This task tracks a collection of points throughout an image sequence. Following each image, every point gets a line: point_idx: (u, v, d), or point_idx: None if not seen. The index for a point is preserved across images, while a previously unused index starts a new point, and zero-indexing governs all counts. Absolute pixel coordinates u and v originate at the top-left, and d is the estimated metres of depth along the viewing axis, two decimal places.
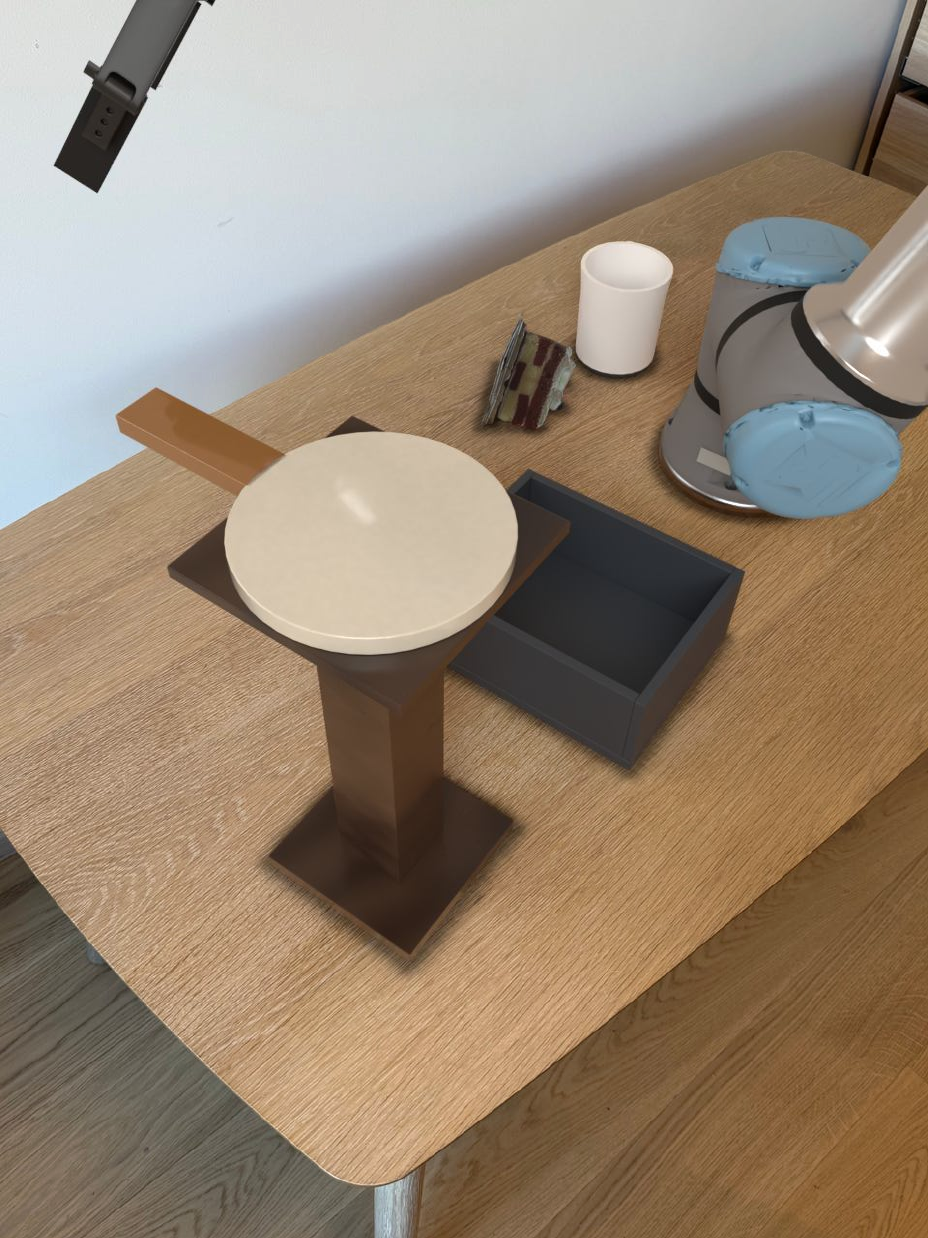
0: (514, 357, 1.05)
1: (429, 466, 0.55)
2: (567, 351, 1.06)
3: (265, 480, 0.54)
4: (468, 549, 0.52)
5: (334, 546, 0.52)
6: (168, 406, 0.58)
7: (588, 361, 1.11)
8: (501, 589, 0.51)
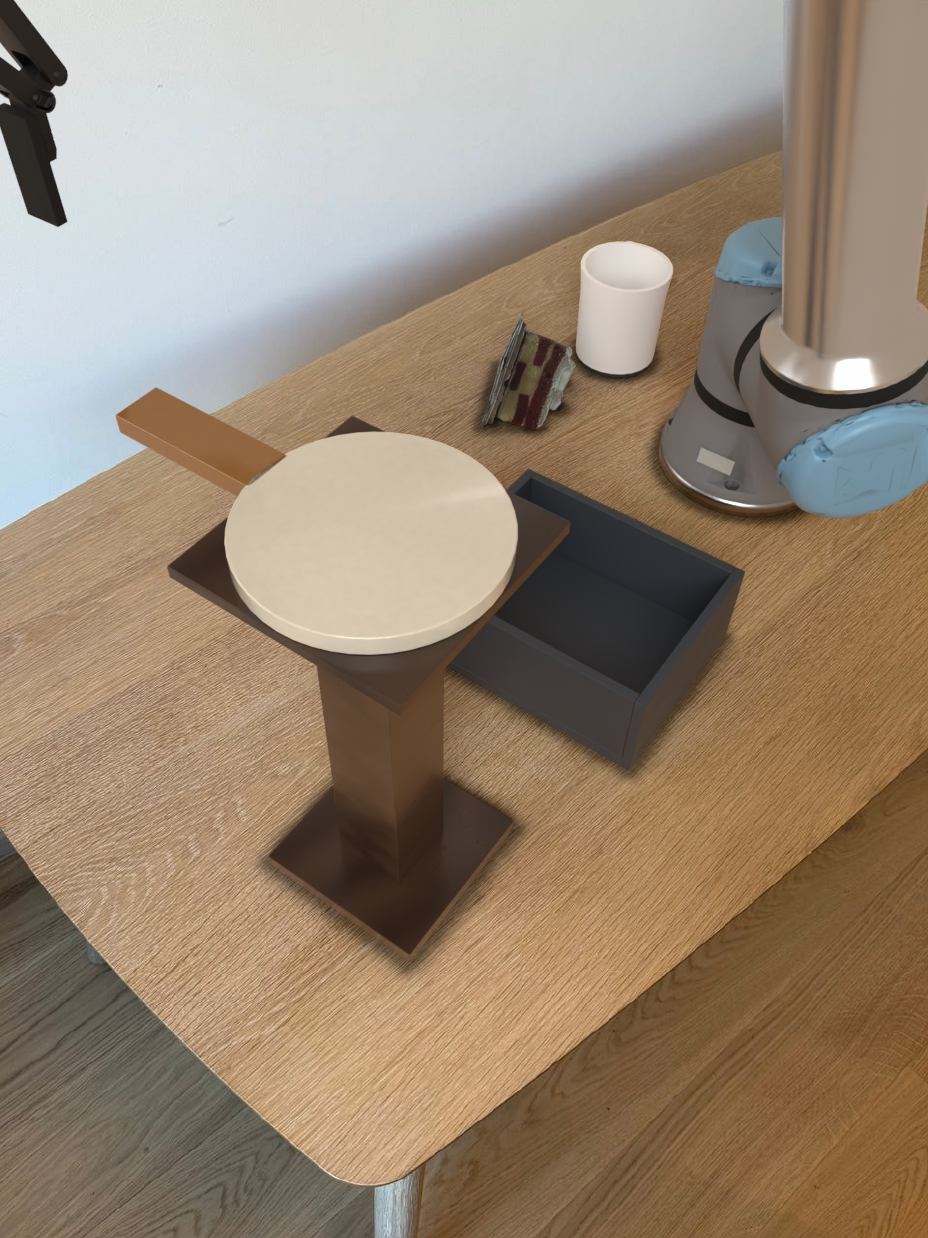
0: (514, 357, 1.05)
1: (429, 466, 0.55)
2: (567, 351, 1.06)
3: (265, 480, 0.54)
4: (468, 549, 0.52)
5: (334, 546, 0.52)
6: (168, 406, 0.58)
7: (588, 361, 1.11)
8: (501, 589, 0.51)
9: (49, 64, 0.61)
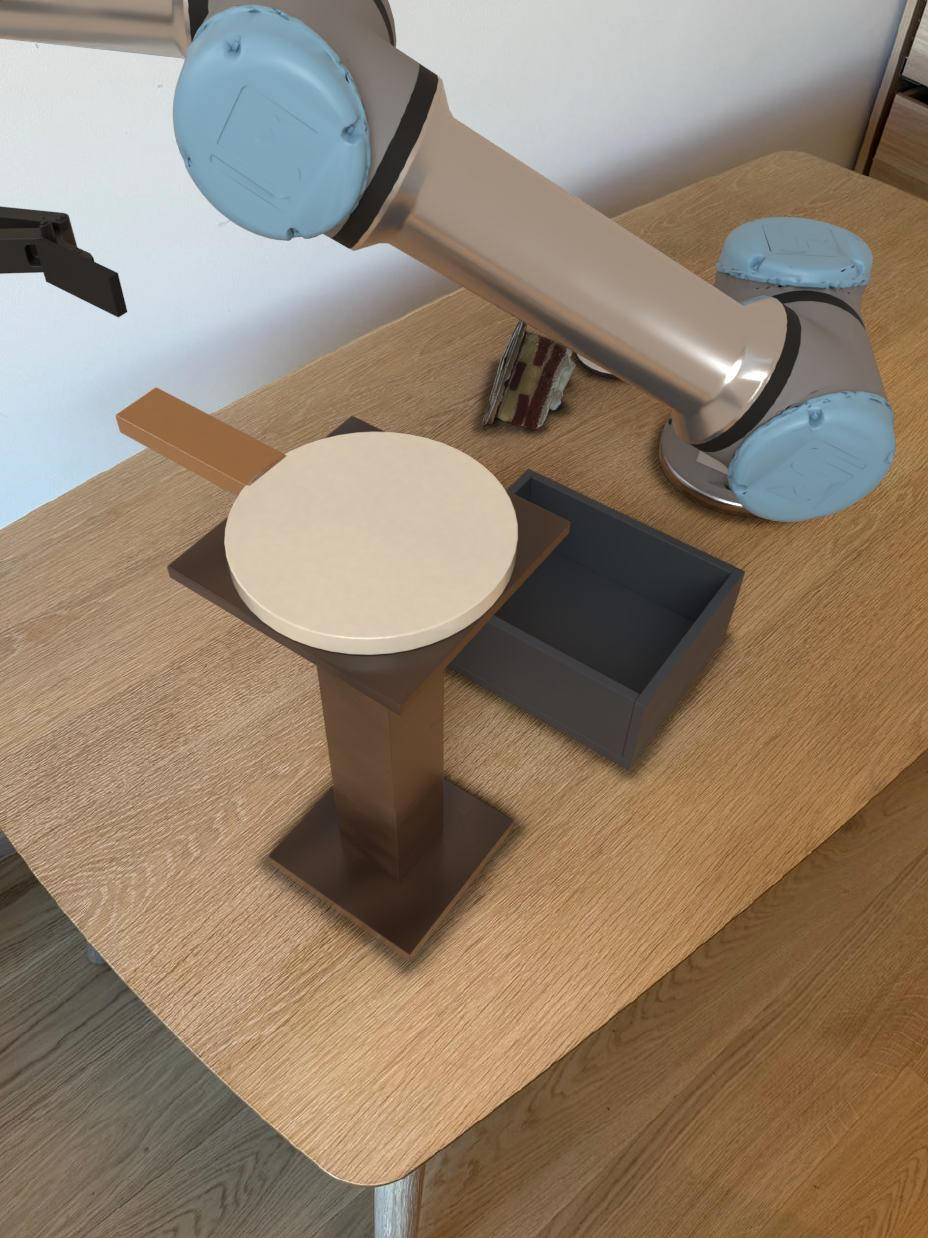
0: (514, 357, 1.05)
1: (429, 466, 0.55)
2: (567, 351, 1.06)
3: (265, 480, 0.54)
4: (468, 549, 0.52)
5: (334, 546, 0.52)
6: (168, 406, 0.58)
7: (588, 361, 1.11)
8: (501, 589, 0.51)
9: (46, 216, 0.70)
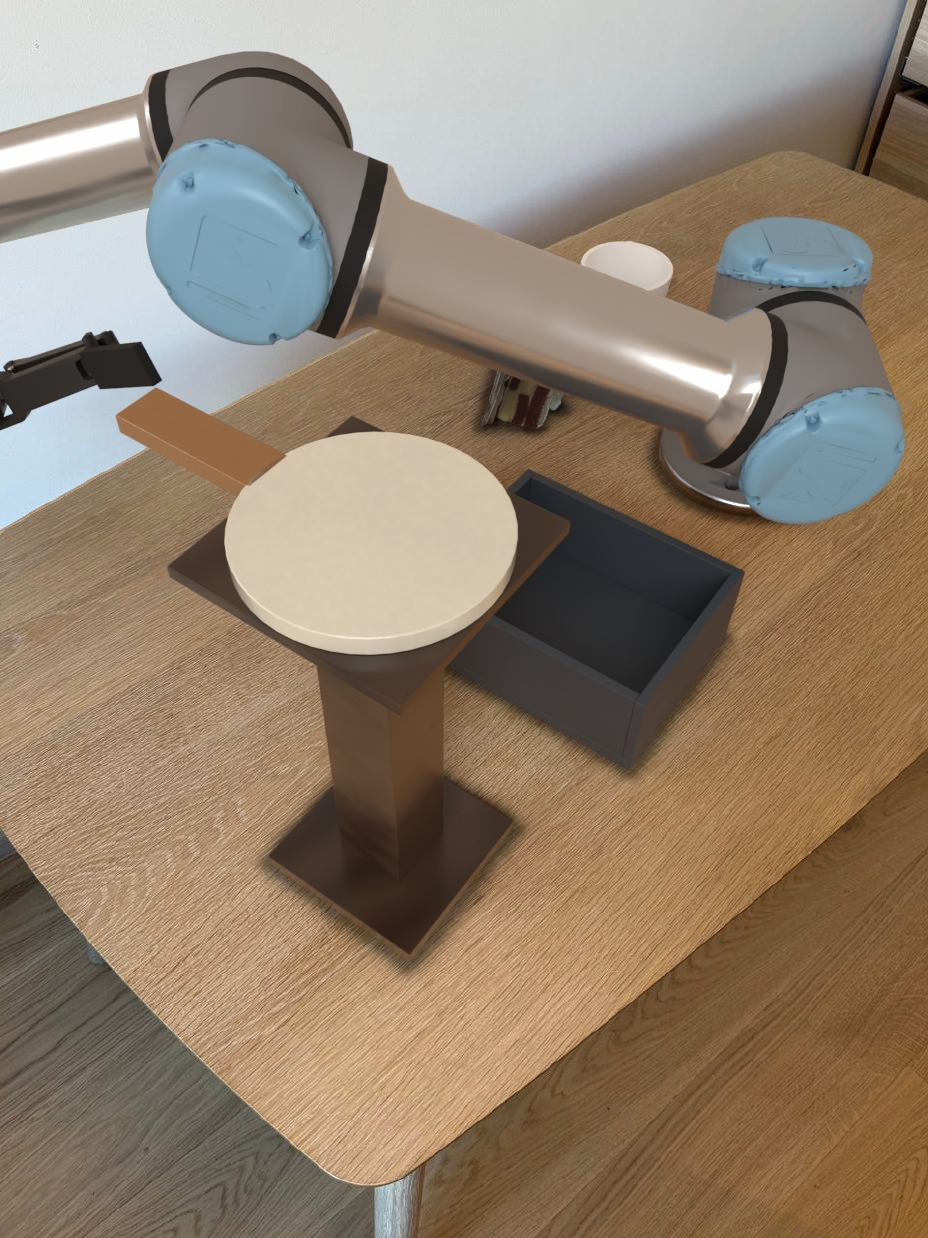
0: None
1: (429, 466, 0.55)
2: None
3: (265, 480, 0.54)
4: (468, 549, 0.52)
5: (334, 546, 0.52)
6: (168, 406, 0.58)
7: None
8: (501, 589, 0.51)
9: None
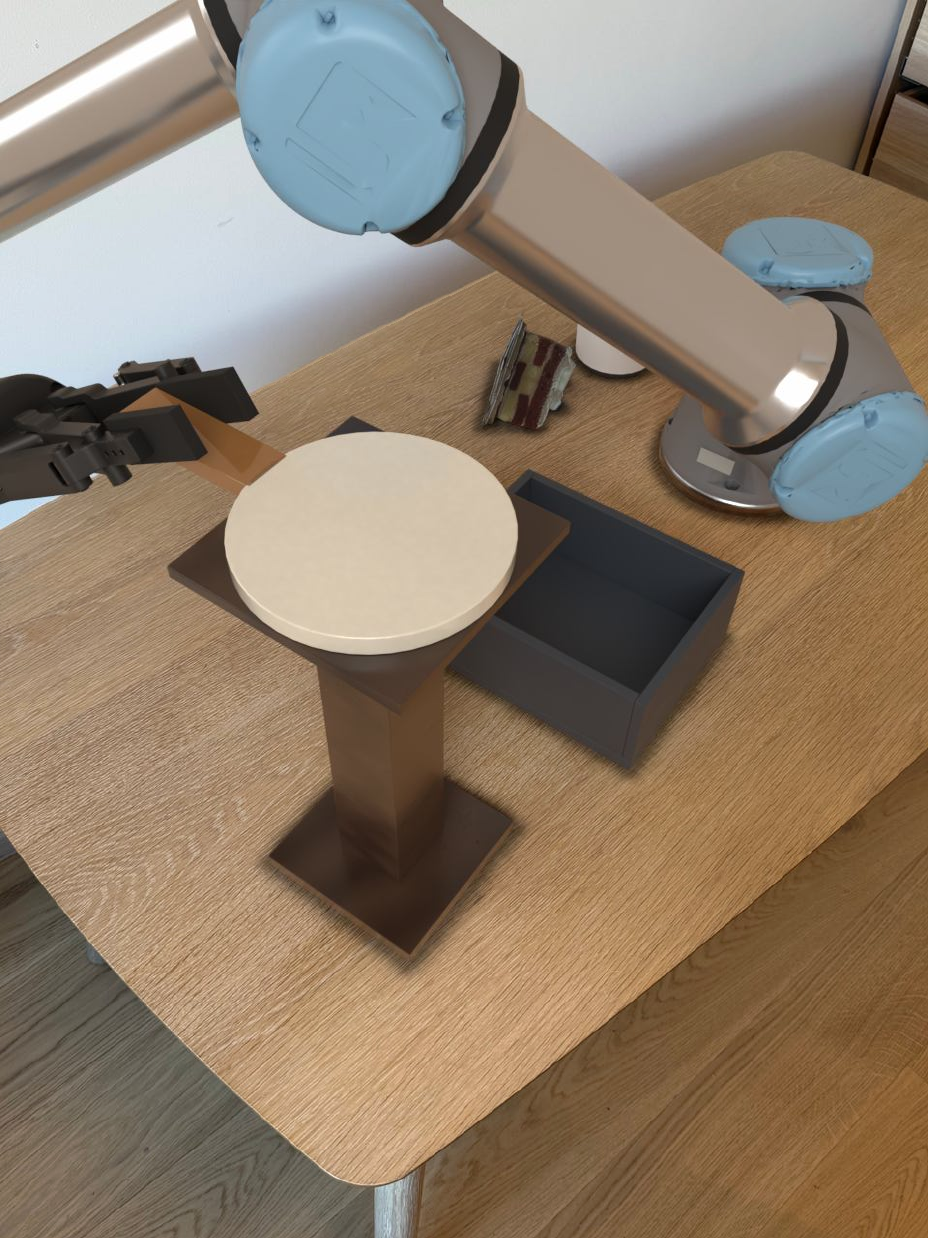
0: (514, 357, 1.05)
1: (429, 466, 0.55)
2: (567, 351, 1.06)
3: (265, 480, 0.54)
4: (468, 549, 0.52)
5: (334, 546, 0.52)
6: None
7: (588, 361, 1.11)
8: (501, 589, 0.51)
9: (176, 363, 0.62)
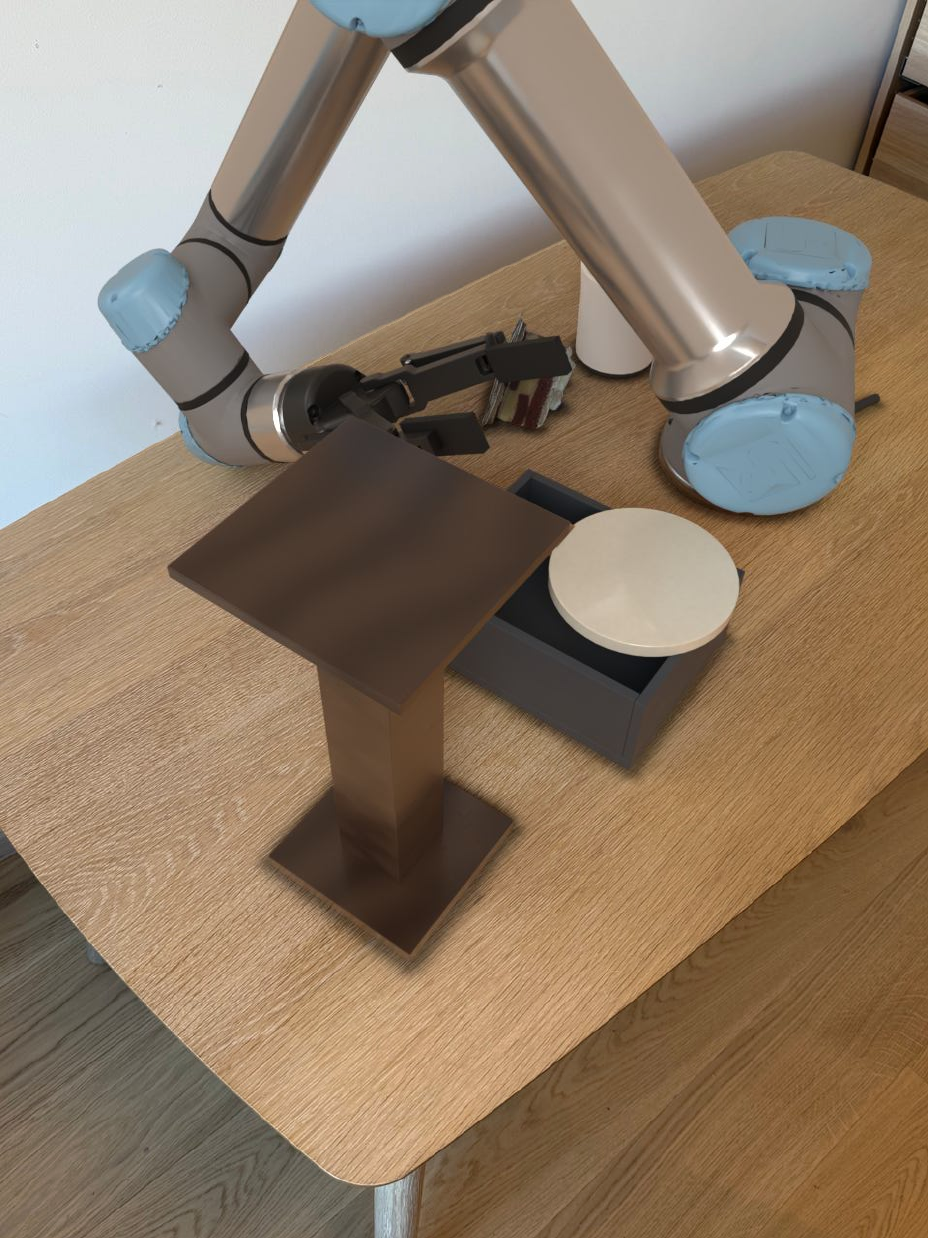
0: None
1: (670, 531, 0.84)
2: (567, 351, 1.06)
3: (566, 543, 0.83)
4: (709, 587, 0.80)
5: (623, 587, 0.80)
6: None
7: (588, 361, 1.11)
8: None
9: None
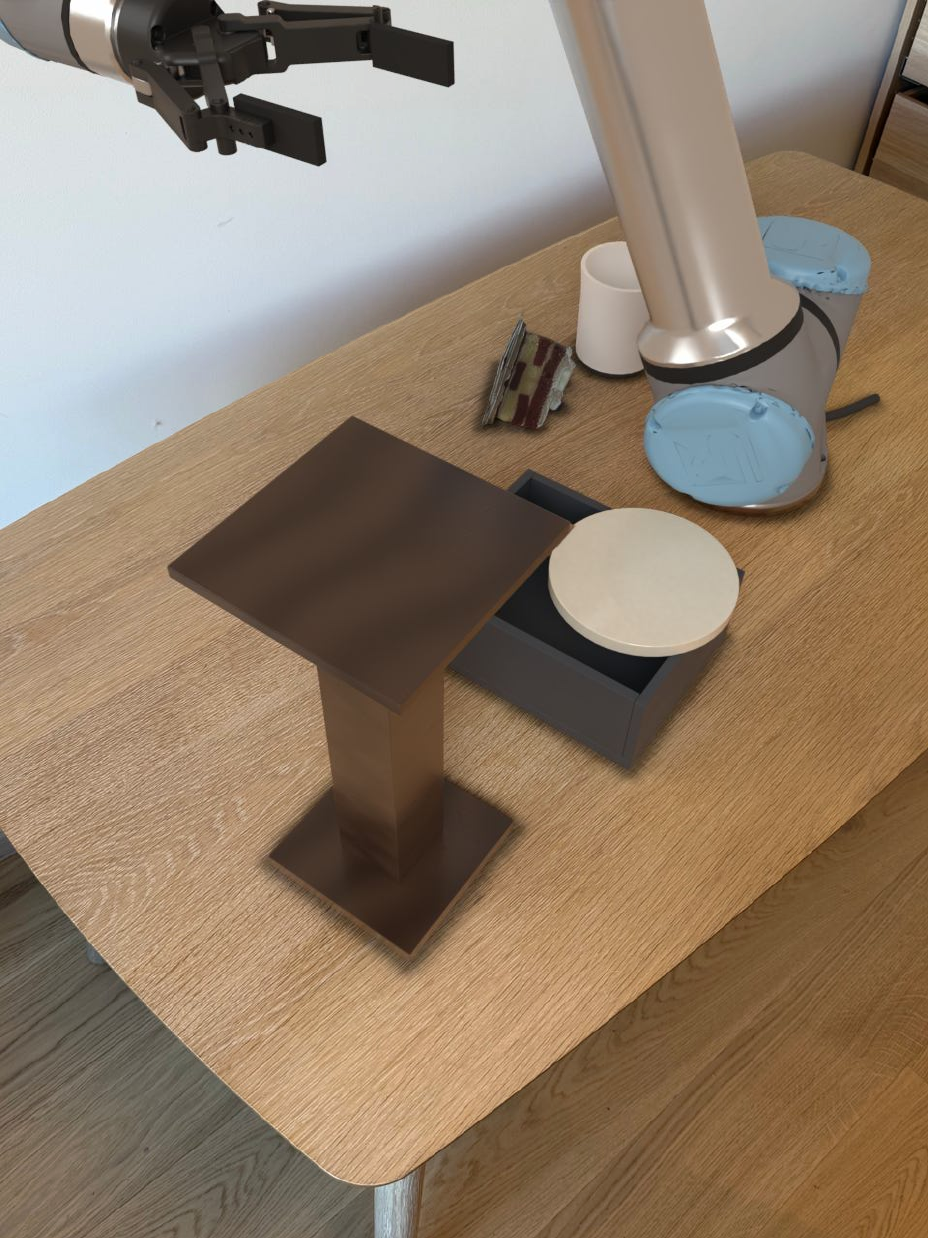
0: (514, 357, 1.05)
1: (670, 531, 0.84)
2: (567, 351, 1.06)
3: (566, 543, 0.83)
4: (709, 587, 0.80)
5: (623, 587, 0.80)
6: None
7: (588, 361, 1.11)
8: None
9: (370, 9, 0.77)
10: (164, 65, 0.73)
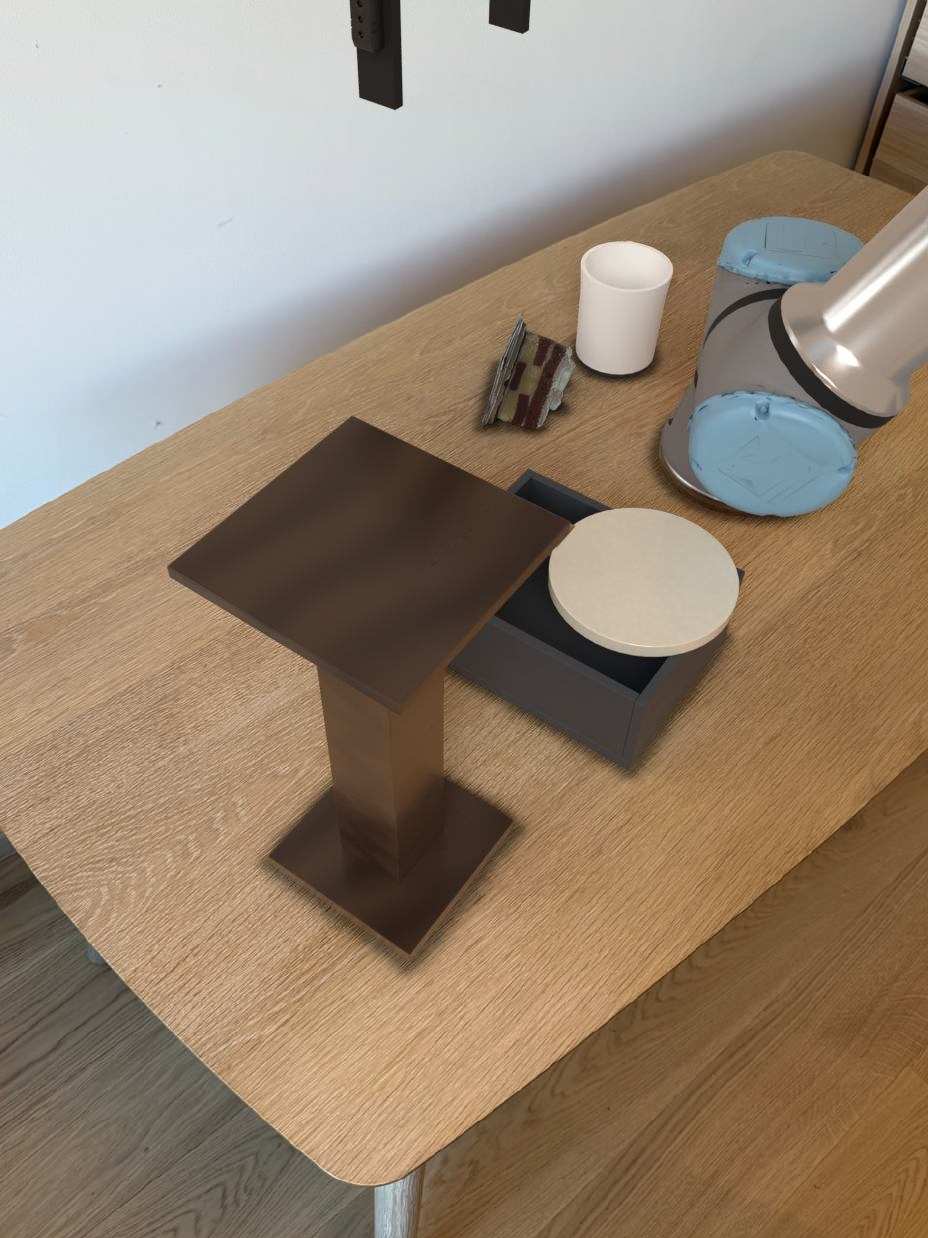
0: (514, 357, 1.05)
1: (670, 531, 0.84)
2: (567, 351, 1.06)
3: (566, 543, 0.83)
4: (709, 587, 0.80)
5: (623, 587, 0.80)
6: None
7: (588, 361, 1.11)
8: None
9: None
10: None
